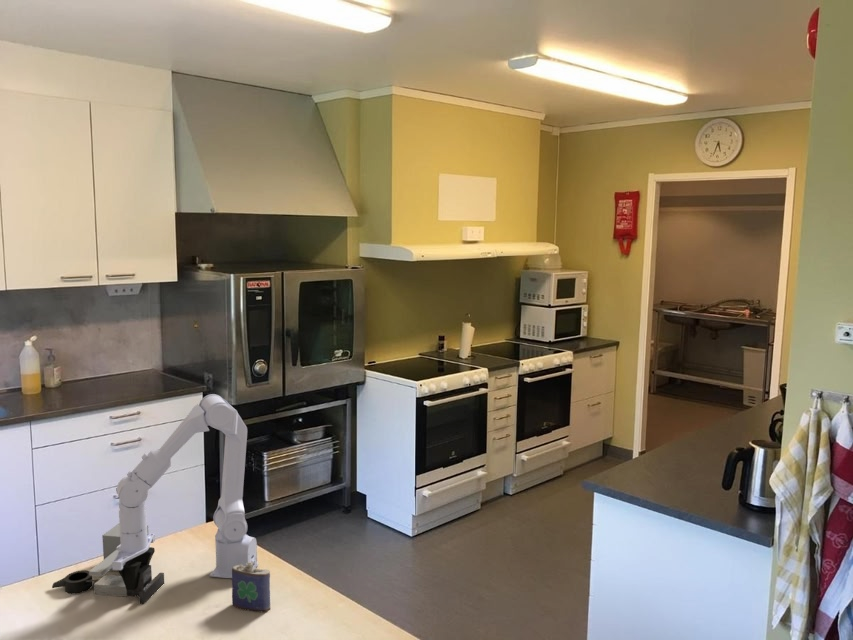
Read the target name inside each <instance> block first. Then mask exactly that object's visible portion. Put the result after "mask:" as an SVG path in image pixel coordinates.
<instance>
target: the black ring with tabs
mask: <svg viewBox="0 0 853 640" xmlns="http://www.w3.org/2000/svg"><path fill="white" fill-rule="evenodd" d="M89 571H90V570H85V569H84V570H83V569H82V570H81V569H80V570H77V571H73V572H71V573H68V574H66V576H65V577H63V578H62V579H59V580H57V581H55V582H53V584H52V586H51V589H57V588H64V592H65V593H66V594H68V595H77V594H82V593H85V592H88V591H89V590H91V589H92V588H93V587H94V584H93V583H96V582H97V581H98V580H100V579H101V578H93V576H89Z"/></svg>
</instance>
